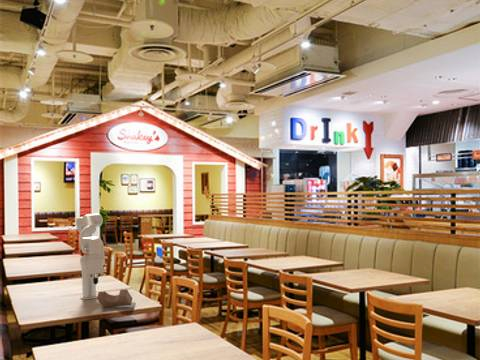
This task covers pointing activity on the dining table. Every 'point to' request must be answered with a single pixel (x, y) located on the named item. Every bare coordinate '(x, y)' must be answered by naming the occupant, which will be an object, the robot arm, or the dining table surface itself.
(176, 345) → the dining table surface
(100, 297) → the decorative block
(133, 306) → the mat
